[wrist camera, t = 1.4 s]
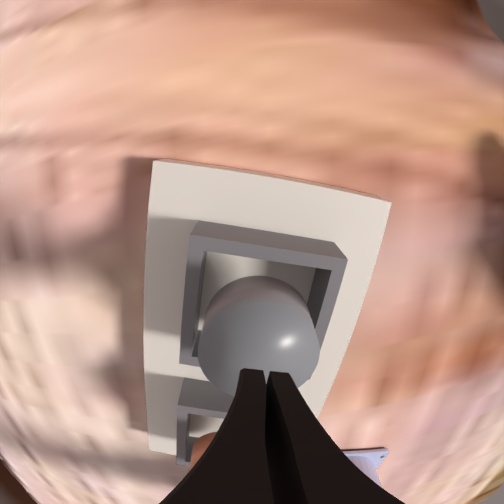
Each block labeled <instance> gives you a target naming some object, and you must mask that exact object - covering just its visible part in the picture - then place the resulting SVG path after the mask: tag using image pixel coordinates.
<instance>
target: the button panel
mask: <svg viewBox="0 0 504 504" xmlns="http://www.w3.org/2000/svg"><path fill="white" fill-rule="evenodd" d="M390 207H391V202H389V201H387V200H385V199H383V198H381V197H379V196H376V195H372V194H367V193H363V192H359V191H354V190H350V189H345V188H341V187H336V186H331V185H326V184H322V183H317V182H312V181H307V180H301V179H296V178H291V177H285V176H280V175H274V174H269V173H263V172H257V171H251V170H245V169H238V168H232V167H225V166H218V165H211V164H204V163H196V162H188V161H180V160H172V159H159V160H155V161H153V168H152V176H151V186H150V196H149V206H148V218H147V232H146V247H145V267H144V300H143V347H144V380H145V399H146V414H147V427H148V438H149V448H150V450H152V451H156V452H161V453H166V454H171V455H176V464H178V465H184V466H190V462H191V455H192V449H193V444H194V442H195V441H196V440H197V439H198V438H199V437H201V436H203V435H205V434H208V433H211V432H217V431H218V430H219V428H220V426H221V424H222V422H223V420H224V419H225V417H226V415H227V413H228V410H229V408H230V406H231V403H232V401H233V399H234V396H232V395H229V394H227V393H225V392H223V391H221V390H220V389H218V388H217V387H215V386H214V385H213V384H212V383H211V382H210V381H209V380H208V379H207V378H206V376H205V375H204V373H203V372H202V370H201V368H200V365H199V361H198V345H199V340H200V336H201V332H202V327H203V323H204V319H205V315H206V310H207V308H208V305H209V303H210V301H211V299H212V298H213V296H214V295H215V294H216V293H217V292H218V291H219V290H220V289H221V288H222V287H224V286H225V285H227V284H228V283H230V282H232V281H234V280H237V279H240V278H243V277H248V276H268V277H273V278H276V279H279V280H282V281H284V282H286V283H288V284H289V285H291V286H292V287H294V288H295V289H296V290H297V291H298V292H299V293H300V295H301V296H302V297H303V299H304V300H305V302H306V305H307V307H308V310H309V313H310V316H311V319H312V322H313V325H314V328H315V331H316V334H317V337H318V341H319V345H320V355H319V361H318V364H317V366H316V369H315V370H314V372H313V374H312V375H311V376H310V378H309V379H308V380H307V381H306V382H305V383H304V384H303V385H301V386H300V387H299V388H298V390H299V391H300V393H301V395H302V396H303V398H304V400H305V401H306V403H307V405H308V406H309V408H310V409H311V411H312V412H313V414H314V415H315V417H316V418H318V416H319V414H320V412H321V410H322V407H323V405H324V403H325V401H326V398H327V396H328V394H329V391H330V389H331V387H332V384H333V382H334V379H335V377H336V374H337V372H338V370H339V367H340V365H341V362H342V359H343V357H344V354H345V352H346V349H347V346H348V344H349V341H350V338H351V336H352V333H353V330H354V327H355V325H356V322H357V319H358V316H359V313H360V310H361V307H362V304H363V301H364V298H365V295H366V292H367V289H368V286H369V283H370V279H371V276H372V273H373V270H374V266H375V263H376V260H377V256H378V253H379V249H380V245H381V242H382V238H383V234H384V231H385V227H386V223H387V219H388V215H389V211H390Z"/></svg>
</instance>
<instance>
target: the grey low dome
mask: <svg viewBox="0 0 504 504" xmlns="http://www.w3.org/2000/svg"><path fill="white" fill-rule="evenodd" d="M319 355H320V345H319V341H318V337H317V334H316V331H315V328H314V325H313V322H312V319H311V316H310V313H309V310H308V307H307V305H306V302H305V300H304V299H303V297H302V296H301V295H300V293H299V292H298V291H297V290H296V289H295V288H294V287H292V286H291V285H289V284H288V283H286V282H284V281H282V280H279V279H276V278H273V277H268V276H248V277H243V278H240V279H237V280H234V281H232V282H230V283H228V284H227V285H225V286H224V287H222V288H221V289H220V290H219V291H218V292H217V293H216V294H215V295H214V296H213V298H212V299H211V301H210V303H209V305H208V308H207V310H206V315H205V319H204V323H203V327H202V332H201V336H200V340H199V345H198V361H199V365H200V368H201V370H202V372H203V373H204V375H205V376H206V378H207V379H208V380H209V381H210V382H211V383H212V384H213V385H214V386H215V387H217V388H218V389H220V390H221V391H223V392H225V393H227V394H229V395H232V396H235V393H236V388H237V383H238V378H239V373H240V370H241V369H243V368H248V369H257V370H263V371H264V376H265V381H266V383H267V380H268V376H269V372H270V371H276V372H286V373H289V374H290V375H291V377H292V379H293V381H294V382H295V384H296V386H297V388H299V387H300V386H301V385H303V384H304V383H305V382H306V381H307V380H308V379H309V378H310V376H311V375H312V374H313V372H314V370H315V369H316V366H317V364H318V361H319Z"/></svg>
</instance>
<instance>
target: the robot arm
mask: <svg viewBox="0 0 504 504" xmlns="http://www.w3.org/2000/svg"><path fill="white" fill-rule="evenodd" d="M388 453H389V450H388V449H387V448H384V449H373V450H359V451H341V450H340V448H339V447H338V446H337V445H336V444H335V442H334V441H333V440H332V439H331V437H330V436H329V435H328V434H327V432H326V431H325V430H324V428H323V427H322V425H321V424H320V423H319V421H318V420H317V418H316V417H315V415H314V414H313V412H312V411H311V409H310V408H309V406H308V405H307V403H306V401H305V400H304V398H303V396H302V395H301V393H300V391H299V390H298V388H297V386H296V384H295V382H294V381H293V379H292V377H291V375H290V374H289V373H286V372H276V371H270V372H269V376H268V380H267V383H266V381H265V376H264V371H263V370H257V369H248V368H243V369H241V370H240V373H239V378H238V383H237V388H236V393H235V396H234V399H233V401H232V403H231V406H230V408H229V410H228V413H227V415H226V417H225V419H224V420H223V422H222V424H221V426H220V428H219V430H218V431H217V433H216V435H215V436H214V438H213V440H212V441H211V443H210V444H209V446H208V447H207V449H206V450H205V452H204V453H203V455H202V456H201V457H200V459H199V460H198V461H197V463H196V464H195V465H194V466H193V468H192V469H191V470H190V472H189V473H188V474H187V475H186V476H185V477H184V479H183V480H182V481H181V482H180V483H179V484H178V485H177V486H176V487H175V488H174V489H173V490H172V491H171V492H170V493H169V494H168V495H167V496H166V497H165V498H164V499H163V500H162V501H161V502H160V503H159V504H405V503H403V502H402V501H400V500H399V499H397V498H396V497H394V496H393V495H391V494H390V493H388V492H387V491H385V490H384V489H383V488H382V486H381V483H380V480H379V477H378V474H377V471H376V469H377V468H378V466H379V465H380V464H381V463H382V461H383V460H384V459H385V457H386V456H387V455H388Z"/></svg>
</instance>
